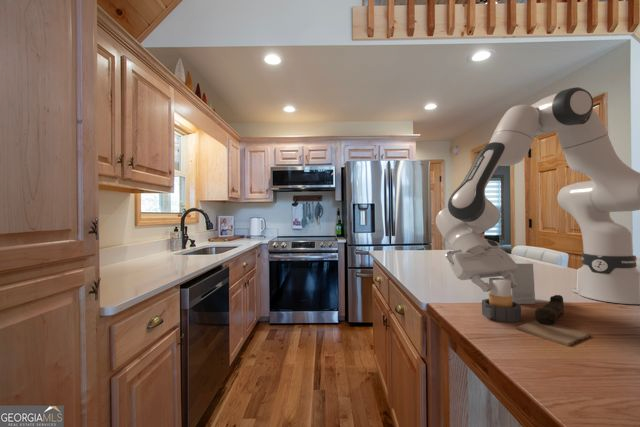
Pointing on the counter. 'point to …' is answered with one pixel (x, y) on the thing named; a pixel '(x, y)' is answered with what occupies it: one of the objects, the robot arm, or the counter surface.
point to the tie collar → (501, 312)
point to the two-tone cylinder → (500, 292)
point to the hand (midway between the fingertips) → (501, 288)
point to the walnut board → (553, 332)
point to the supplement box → (523, 283)
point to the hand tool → (550, 310)
